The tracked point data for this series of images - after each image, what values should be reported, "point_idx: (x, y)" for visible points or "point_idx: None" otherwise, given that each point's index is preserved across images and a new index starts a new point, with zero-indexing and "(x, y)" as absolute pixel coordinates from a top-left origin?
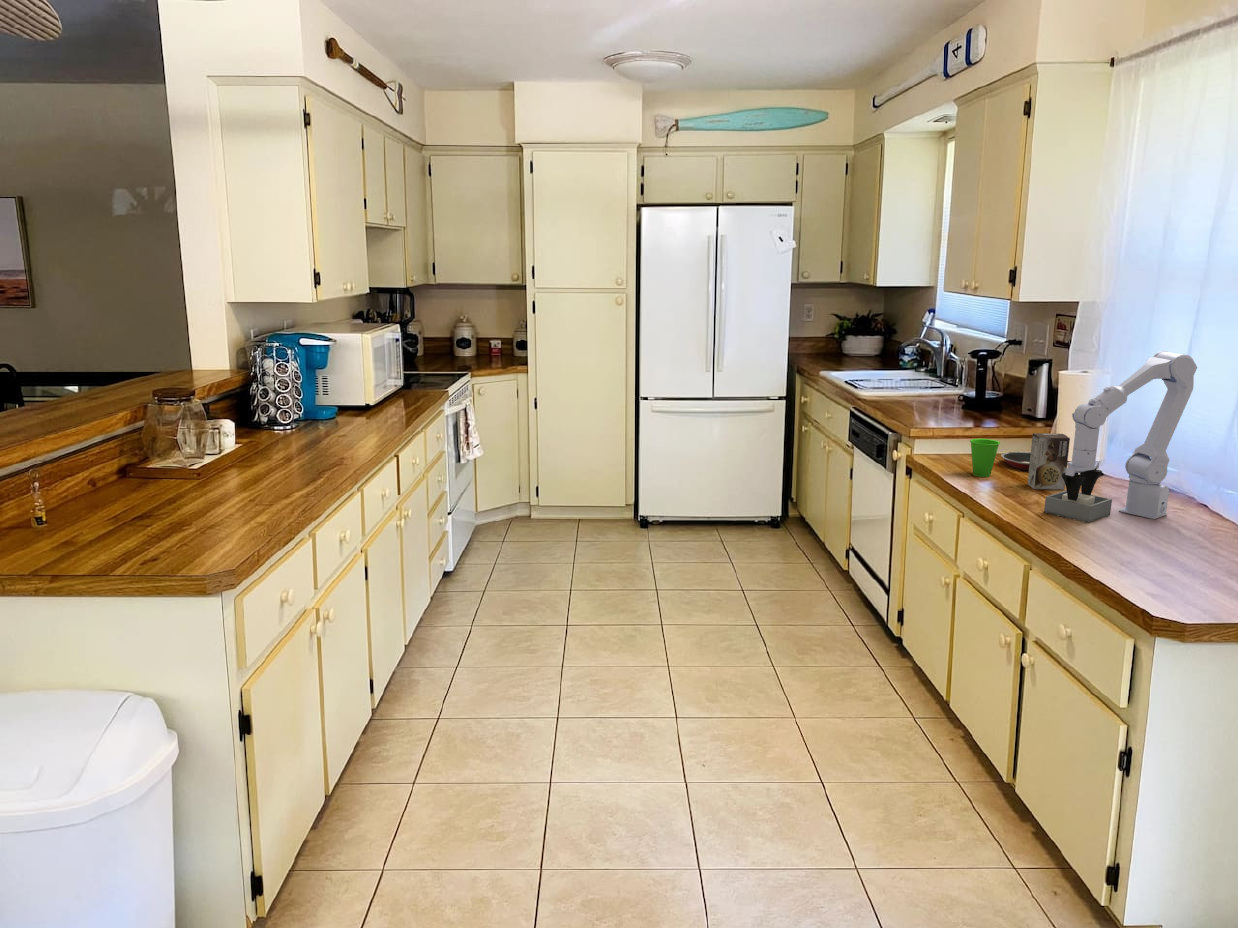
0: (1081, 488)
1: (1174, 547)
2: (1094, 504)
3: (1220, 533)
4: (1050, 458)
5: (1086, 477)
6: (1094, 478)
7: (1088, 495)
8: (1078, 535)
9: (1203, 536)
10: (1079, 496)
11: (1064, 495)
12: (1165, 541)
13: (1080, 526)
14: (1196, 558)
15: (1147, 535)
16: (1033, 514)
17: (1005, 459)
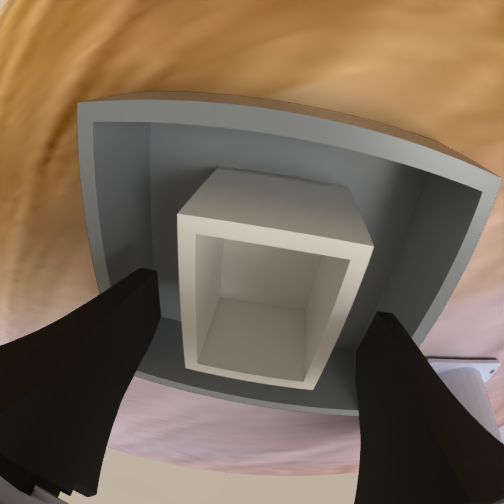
0: (391, 344)
1: (150, 436)
2: (176, 384)
3: (323, 471)
4: None
5: (398, 467)
6: (360, 494)
7: (320, 364)
8: (27, 305)
9: (277, 465)
10: (326, 303)
11: (179, 231)
12: (174, 434)
13: (90, 298)
14: (128, 442)
15: (185, 420)
16: (74, 79)
17: None
